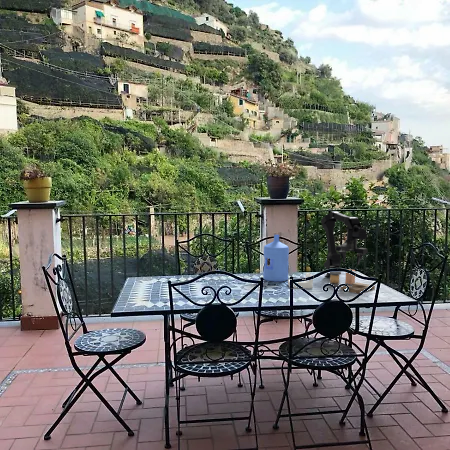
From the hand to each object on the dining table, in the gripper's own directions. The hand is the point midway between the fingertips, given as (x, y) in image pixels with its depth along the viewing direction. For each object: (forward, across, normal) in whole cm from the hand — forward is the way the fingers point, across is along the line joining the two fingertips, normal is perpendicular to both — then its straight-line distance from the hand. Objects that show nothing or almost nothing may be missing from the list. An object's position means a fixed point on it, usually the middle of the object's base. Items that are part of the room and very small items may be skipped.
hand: (350, 263), depth 259 cm
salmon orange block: (+12, 0, 0) cm, 12 cm away
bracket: (+12, -14, -31) cm, 36 cm away
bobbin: (+12, -3, -12) cm, 17 cm away
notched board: (+12, +12, -11) cm, 20 cm away
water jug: (+12, -36, -27) cm, 47 cm away
